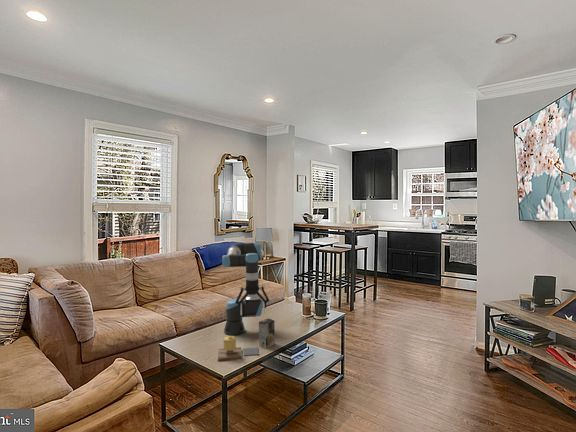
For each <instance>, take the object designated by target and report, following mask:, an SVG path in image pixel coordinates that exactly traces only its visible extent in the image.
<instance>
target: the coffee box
mask: <svg viewBox="0 0 576 432" xmlns="http://www.w3.org/2000/svg"><path fill="white" fill-rule="evenodd" d="M275 330H276V329H275V320H274V319H272V318H266V319H265V318H264V319H262V320H260V321H259V322H258V341H259V342H258V346H259V347H260V348H264V349H267V348H269V347H272V346H273V345H275V344H276V340H275V339H276V337H275V336H276V334H275Z"/></svg>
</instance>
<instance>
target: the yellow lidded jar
mask: <svg viewBox="0 0 576 432" xmlns="http://www.w3.org/2000/svg"><path fill="white" fill-rule="evenodd" d="M236 348H237V337H236V335H227V336H225V337H223V349H224V350H227V351H228V350H234V349H236Z"/></svg>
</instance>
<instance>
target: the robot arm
mask: <svg viewBox="0 0 576 432" xmlns="http://www.w3.org/2000/svg"><path fill="white" fill-rule="evenodd" d="M261 259H263V255H262V248H261V244H260V243H259V242H240V243H239V242H238V243H235V244H233V245H230V247H229V248H228V249H227V251H226V255H224V254H223V255H222V258H221V260H222V261H221V262H222V263H221V264H222V267H223V268H245V279H246V280H245V287H242V286H241V287H240V291H239V293H238V295H237V297H236V298H232V299H229V300H228V301H227V302H226V304H225V312H226V313H225V314H226V315H225V318H226V319H225V320H226V321H225V324H224V328H223V333H224V334H225V335H227V336H239V335H241V334H244V333H245V331H246V327H245V324H244V322H243V318H256V317H261V315H262V313H263V315H265V314H266V310H265V309H267V303H269V302H270V299H269V297H268V295H267V292H266V291H265V288H264V285H261V286H260V285H259V263H260V262H261ZM244 291H245V294H243V293H244ZM259 291H262V294H263V295H264V296H262V294H261V293H260V292H259ZM242 295H243V296H242ZM241 296H242V297H241Z"/></svg>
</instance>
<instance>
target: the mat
mask: <svg viewBox="0 0 576 432" xmlns="http://www.w3.org/2000/svg"><path fill="white" fill-rule="evenodd" d="M259 354H260V353H259V349H258V347H248V348H247V347H246V348H245V347H244V348H243V357H249V356H259Z"/></svg>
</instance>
